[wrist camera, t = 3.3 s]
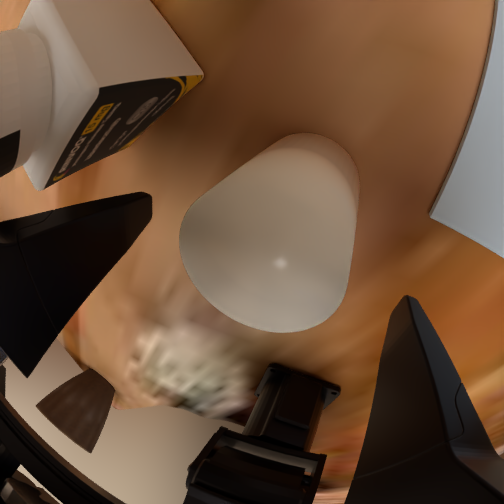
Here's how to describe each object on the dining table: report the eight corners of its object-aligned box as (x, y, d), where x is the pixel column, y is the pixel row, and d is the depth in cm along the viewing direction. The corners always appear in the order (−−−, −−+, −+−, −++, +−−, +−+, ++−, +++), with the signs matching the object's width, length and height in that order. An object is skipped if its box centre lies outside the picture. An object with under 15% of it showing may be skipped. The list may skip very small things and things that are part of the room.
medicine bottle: (129, 148, 16) (-41, 251, 7) (83, 70, 14) (-80, 130, 5) (209, 76, 12) (-58, 152, 3) (146, -8, 10) (-68, 6, 1)
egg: (339, 243, 14) (311, 351, 9) (250, 209, 15) (178, 294, 10) (375, 155, 11) (380, 229, 6) (270, 119, 12) (184, 159, 7)
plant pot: (93, 382, 58) (59, 425, 46) (66, 346, 50) (24, 395, 38) (137, 409, 54) (102, 460, 41) (112, 376, 45) (66, 437, 33)
